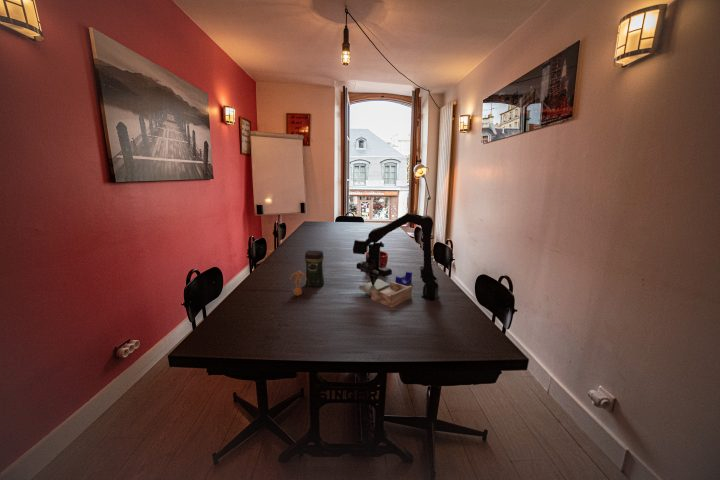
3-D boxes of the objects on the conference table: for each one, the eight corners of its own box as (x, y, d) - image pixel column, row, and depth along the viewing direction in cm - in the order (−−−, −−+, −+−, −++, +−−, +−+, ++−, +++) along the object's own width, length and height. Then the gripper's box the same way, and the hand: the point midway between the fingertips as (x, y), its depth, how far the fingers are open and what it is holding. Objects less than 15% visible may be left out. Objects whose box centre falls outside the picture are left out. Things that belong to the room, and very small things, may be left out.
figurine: (288, 296, 141) (287, 272, 138) (291, 291, 147) (290, 268, 144) (305, 297, 141) (305, 273, 138) (307, 292, 147) (307, 269, 144)
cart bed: (411, 297, 143) (412, 286, 142) (391, 307, 132) (392, 295, 131) (390, 290, 151) (391, 279, 150) (370, 299, 140) (371, 287, 139)
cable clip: (404, 280, 166) (405, 270, 165) (411, 282, 163) (412, 272, 162) (392, 286, 157) (393, 276, 156) (400, 288, 154) (400, 278, 153)
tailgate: (390, 284, 151) (379, 278, 156) (370, 293, 140) (358, 286, 145) (389, 287, 152) (378, 281, 156) (369, 296, 140) (358, 289, 145)
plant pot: (361, 270, 181) (362, 251, 179) (380, 268, 187) (381, 249, 184) (371, 277, 170) (372, 257, 167) (391, 274, 175) (392, 255, 173)
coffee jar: (325, 282, 160) (325, 249, 156) (322, 287, 153) (321, 253, 149) (307, 281, 161) (307, 248, 157) (303, 286, 154) (302, 252, 150)
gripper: (349, 254, 145) (348, 284, 149) (378, 262, 133) (377, 294, 137) (364, 250, 153) (363, 278, 157) (393, 257, 141) (391, 288, 145)
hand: (373, 284), depth 148 cm, fingers closed, pressing on tailgate
